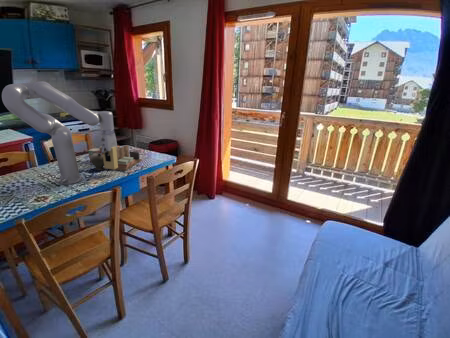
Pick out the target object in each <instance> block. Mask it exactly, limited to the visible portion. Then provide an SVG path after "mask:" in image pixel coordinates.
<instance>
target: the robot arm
mask: <svg viewBox="0 0 450 338" xmlns="http://www.w3.org/2000/svg"><path fill="white" fill-rule="evenodd" d="M33 99H41V100H43V101H45V102H47V103H49V104H51V105H52V106H54V107H56V108H58V109H60V110H62V111H63V112H65V114H68V115H70V116H72V117H73V118H75V119H77V120H79V121H80V122H83V123H84V124H86V125H88V126H91V127H93V126H94V127H95V126H97V125H98V124H99V129H100V145H101V146H100V147H101V148H102V153H104V155H105V159H106V161H108V162H110V161H111V158H110V151H111V150H112V149H111V148H113V147H116V148H117V146H118V143H117V136H116V133H115V125H114V115H113V112H112V111H109V110H108V111H107V110H103V111H97V110H90V109H88V108H86V107H85V106H83V105H81V104H79V103H78V102H77V101H76V99H74V98H73V97H71V96H70V95H68V94H66V93H64V92H63V91H61V90H59V89H57V88H55V87H53V86H52V85H51V84H50V83H49V82H48V81H47V82H46V81H43V80H42V81H34V82H33V81H31V82H19V83H18V82H17V83H12V84H11V83H10V84H8V85H5V87H4V88H3V89H2V92H1V100H2V103H3V105H4V106H5V108H6V109H7V110H8V111H9V113H11V114H13V115H14V116H16V117H17V118H18V119H20V120H22V121H23V122H24V123H26V124H27V125H29V126H30V127H32V128H33V129H34V130H35V131H37V132H40V133H42V134H48V135H49V136H51V142H52V146H53V149H54V153H55V158H56V160H57V165H58V169H59V173H60V175H59V178H58V179H56V180H55V181H54V183H56V184H61V185H72V184H73V185H74V184H77V183H80V182H82V181H83V179H84V176H83V175H80V170H79V166H78V161H77V156H76V152H75V147H74V143H73V133H72V131H71V129H70V128H69V127H67V126H66V125H65V124H63V123H62V122H60V121H59V120H58V119H56V118H55V117H53V116H52V115H50V114H48V113H42V112H40V111H39V110H37V109H36V108H35V107H33V106H32V105H30V104H29V103H27V102H26V101H27V100H33ZM107 152H108V153H107Z"/></svg>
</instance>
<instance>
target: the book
mask: <svg viewBox="0 0 450 338" xmlns="http://www.w3.org/2000/svg"><path fill="white" fill-rule="evenodd" d="M111 149H112V150H111V151H110V158H111V161H110V162H108V161H106V159H105V155H104V153H103V160H104V166H103V167H104V168H105V169H109V170H112V169H116V168H118V161H117V150H116V147H113V148H111ZM107 153H108V152H107Z"/></svg>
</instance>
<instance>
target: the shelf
mask: <svg viewBox="0 0 450 338" xmlns="http://www.w3.org/2000/svg"><path fill="white" fill-rule="evenodd" d="M117 161H118V168H116V169H111V170H112V171H113V170H114V171H123V172H124V171H128V170H130V169H131V168H133V167H134V166H135V165H137V164H139V163H140V162H142V161H143V159H142V158H140V151H129V145H128V144H126V145H124V146H122V147H120V149H117Z"/></svg>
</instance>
